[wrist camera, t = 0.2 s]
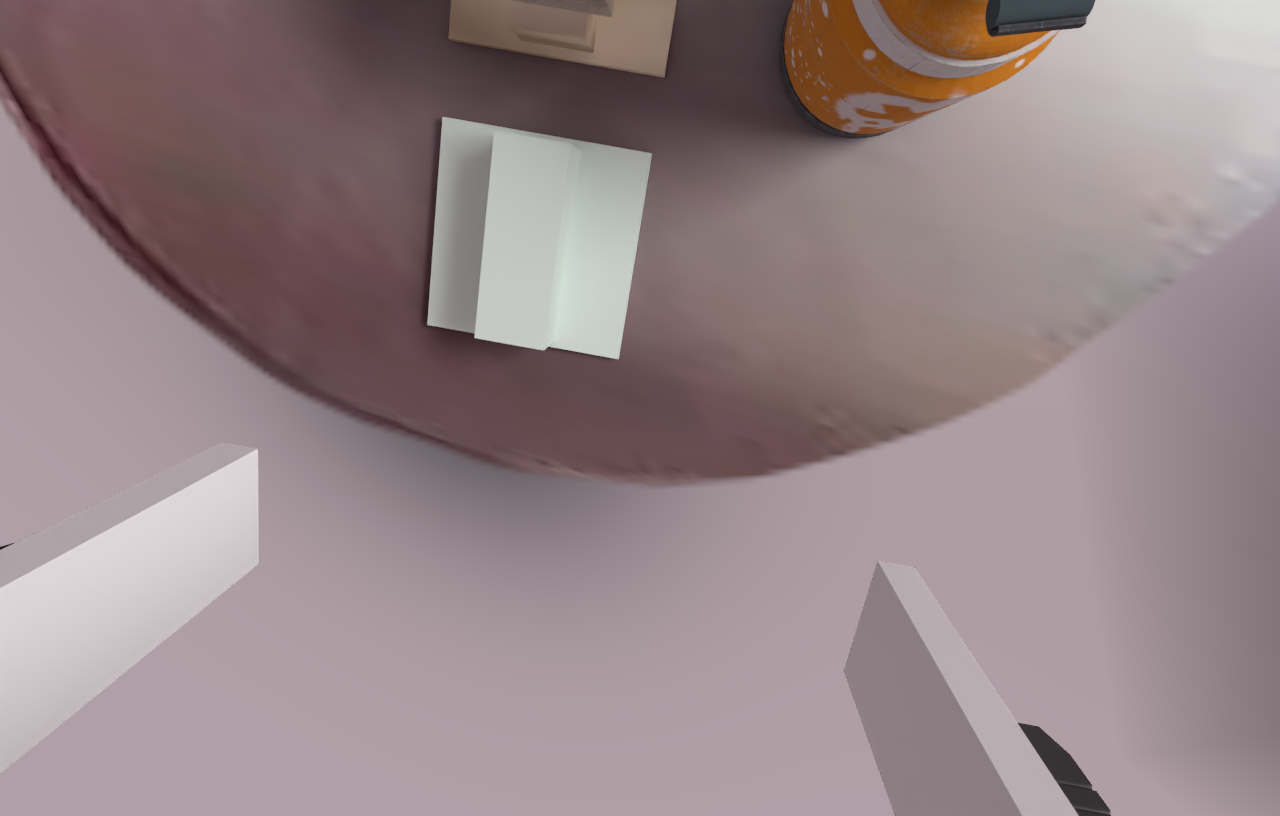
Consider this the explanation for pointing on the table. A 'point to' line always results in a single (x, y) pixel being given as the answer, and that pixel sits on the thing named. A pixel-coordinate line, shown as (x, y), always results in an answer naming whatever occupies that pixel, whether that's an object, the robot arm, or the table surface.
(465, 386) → the table surface
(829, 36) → the canister
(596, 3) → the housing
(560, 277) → the stand
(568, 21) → the stand
